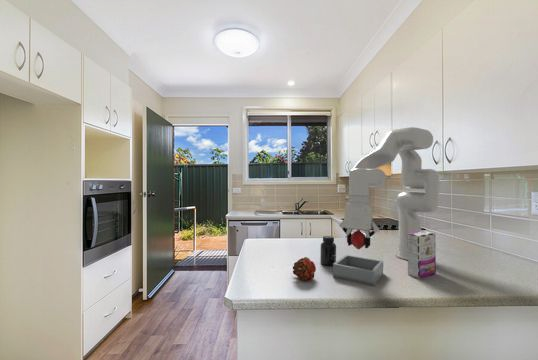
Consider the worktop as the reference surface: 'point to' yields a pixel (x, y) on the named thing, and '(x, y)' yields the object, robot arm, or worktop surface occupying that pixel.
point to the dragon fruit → (304, 268)
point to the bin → (358, 269)
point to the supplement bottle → (328, 251)
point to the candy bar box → (421, 254)
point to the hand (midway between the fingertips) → (358, 245)
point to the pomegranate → (358, 239)
